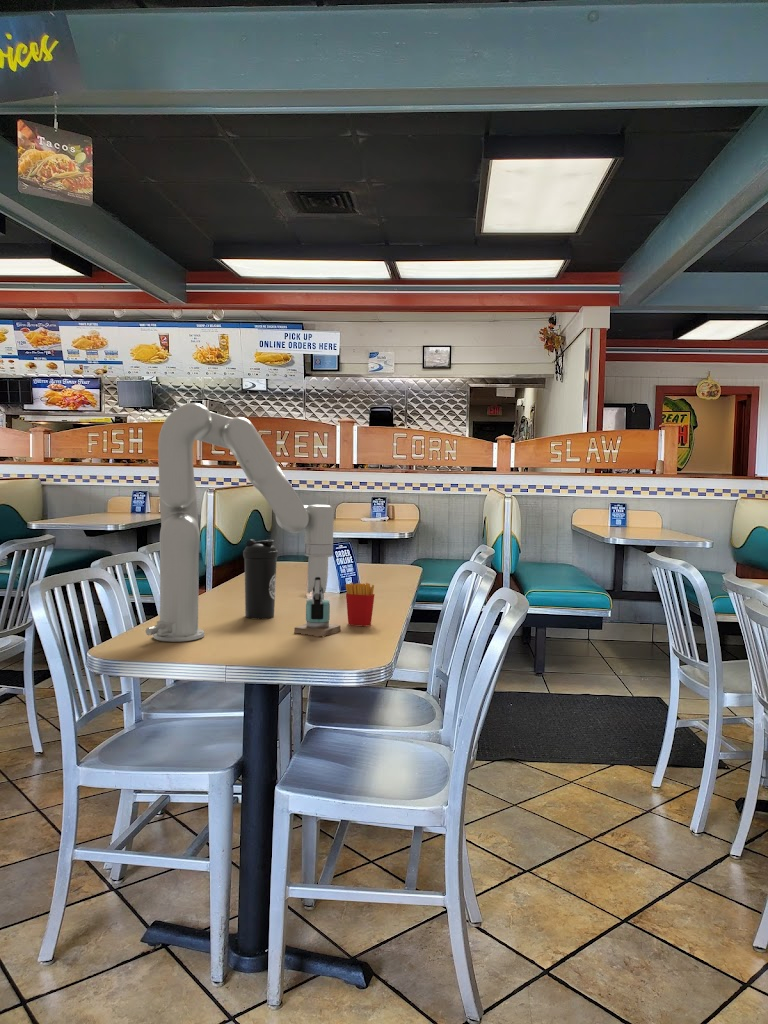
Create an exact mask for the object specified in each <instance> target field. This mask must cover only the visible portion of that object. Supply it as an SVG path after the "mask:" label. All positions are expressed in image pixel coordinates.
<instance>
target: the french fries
mask: <svg viewBox="0 0 768 1024" xmlns="http://www.w3.org/2000/svg"><path fill="white" fill-rule="evenodd" d="M374 589H375V585H374V584H370V583H368V582H365V583H362V582H361V583H360V582H357V583H353V582H350V583H345V590H346V593H345V598H346V611H347V622H348V623H347V624H348V625H349V624H350V625H349V626H355V625H362V626H361V627H369V625H370V626H372V617H373V609H374V602H375V601H374V600H375V593H374Z"/></svg>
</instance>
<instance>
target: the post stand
mask: <svg viewBox="0 0 768 1024" xmlns="http://www.w3.org/2000/svg"><path fill="white" fill-rule="evenodd" d="M293 629H294V634H297V633H301V634H300V635H305V634H308V635H307V636H312V635H314V637H319V636H322V637H321V638H324V637H326V635H327V636H330V635H333V634H335V632H336V633H339V632H341V625H338V624H330V620H329V621H327V622H309V621H306V623H305V624H302V625H298V626H295V627H294V628H293ZM338 631H339V632H338ZM332 633H333V634H332ZM329 634H330V635H329ZM323 636H324V637H323Z"/></svg>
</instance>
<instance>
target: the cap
mask: <svg viewBox="0 0 768 1024" xmlns="http://www.w3.org/2000/svg"><path fill="white" fill-rule="evenodd" d="M320 600H321V599H320ZM305 602H306V604H305V621H306V622H307V621H309V622H327V621H329V622H330V617H331V615H330V614H331V610H330V608H331V603H330V602H331V601H330V600H328V599H323V604H324V605H323V619H311V604H312V599H308V600H307V599H306V601H305Z"/></svg>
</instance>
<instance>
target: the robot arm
mask: <svg viewBox="0 0 768 1024" xmlns="http://www.w3.org/2000/svg"><path fill="white" fill-rule="evenodd" d="M160 428H161V429H160V432H159V435H158V440H157V441H158V443H157V444H158V445H157V447H158V448H157V449H158V451H157V452H158V456H157V457H158V495H159V507H160V508H159V509H160V522H161V523H160V525H161V527H160V531H159V620H157V621H156V624H155V626H150V627H147V628H146V629H145V633H146V635H147V636H152V637H153V639H154V640H156V641H160V642H172V643H175V642H176V643H177V642H189V641H195V640H199V639H202V638H203V637H204V636H205V631H204V630H203V629H200V628H199V587H200V586H199V585H200V584H199V580H200V579H199V573H200V572H199V571H200V570H199V569H200V567H199V563H200V535H201V534H200V528H199V520H198V519H199V517H198V503H197V502H198V500H197V497H198V496H197V484H196V481H195V473H194V445H195V444H194V443H195V440H196V441H201V442H204V443H206V444H210V445H213V446H216V447H221V448H223V449H224V448H225V449H228V450H229V451H230V452H231V453H232V455H233V457H234V459H236V462H237V463H238V464H239V466H240V468H241V469H242V471H243V473H244V474H245V476H246V478H247V479H248V481H249V482H250V483H251V485H252V486H253V487H254V488H255V489H256V491H258V492H259V493H260V494H261V495H262V497H263V498H264V499H265V501H266V503H267V504H268V505H269V507H270V508H271V510H272V512H273V513H274V515H275V521H276V523H277V525H278V527H280V528H281V529H282V530H283V531H286V532H288V533H291V534H297V533H301V532H302V531H305V532H304V533H305V535H304V556H306V557H308V560H307V562H308V563H307V584H306V586H307V589H306V593H308V594H311V595H312V596H311V600H312V604H311V619H323V605H324V604H323V599H324V597H325V596H324V594H325V593H326V591H327V585H328V575H329V573H328V572H329V558H330V557H333V555H334V518H335V517H334V516H335V515H334V513H335V512H334V507H332V505H329V504H309V505H307V504H304V503H303V501H302V500H301V498H300V497H299V495H298V493H297V492H296V491H295V488H294V487H293V486H292V484H291V483H290V481H289V480H288V479H287V477H286V475H285V474H284V472H283V470H282V468H281V467H280V466H279V464H278V462H277V461H276V460H275V458H274V456H273V455H272V453H271V452H270V450H269V448H268V447H267V445H266V443H265V441H264V440H263V438H262V437H261V435H260V433H259V432H258V430H257V429H256V427H255V426H254V424H253V423H252V422H251V420H249V419H247V418H246V417H244V416H243V417H241V416H236V417H230V416H226V415H223V414H219V413H216V412H213V411H210V410H209V408H208V407H206V406H205V405H203V404H201V403H200V402H199V403H198V402H187V403H185V404H184V405H181V406H179V407H178V408H176V409H174V411H172V412H171V413H170V414H169V415H168V416H167V417H166V419H165V420H164V422H163V424H162V426H161V427H160ZM320 599H321V600H320ZM324 600H325V599H324Z"/></svg>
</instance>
